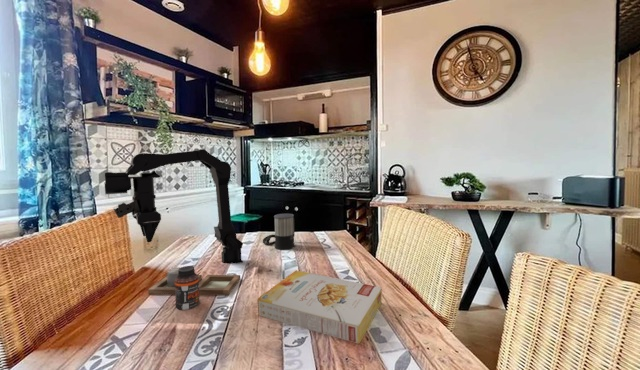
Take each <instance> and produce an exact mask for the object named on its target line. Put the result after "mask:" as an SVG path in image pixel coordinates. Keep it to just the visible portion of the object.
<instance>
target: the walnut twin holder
mask: <svg viewBox="0 0 640 370" xmlns="http://www.w3.org/2000/svg"><path fill="white" fill-rule="evenodd" d="M197 275H198V277H199V296H201V295H204V296H205V295H208V296H212V295H213V296H229V295H230V293H231V292H232V291H233V290H234V289H235V287H236V286H237V284H238V283H239V282H240V281H241V275H240V274H207V275H206V276H204V278H202V274H197ZM147 290H148V295H175V287H168V284H167V275H166V276H165V277H164V278H163V279H161V280H160V281H158V282H157V283H155V284H154V285H152V286H150V287H149V288H148V289H147Z"/></svg>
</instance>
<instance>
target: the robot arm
mask: <svg viewBox="0 0 640 370" xmlns="http://www.w3.org/2000/svg"><path fill="white" fill-rule="evenodd" d="M198 161H199V162H200V163H201V164H202V165H204V166H205V168H207V169H209V171H210V174H211V175H210V176H211V178H212V181H213V182H214V185H215V193H216V206H217V213H218V214H217V215H218V216H217V217H218V224H217V226H213V229H214V230H213V231H214V236H213V237H215V238H216V240H217V242H219V243H220V244H221V246H223V247H222V251H221V263H222V264H242V263H244V260H242V248H243V244H244V242H242V241H241V240H240V239H238V237H237V233H236V229H235V227H234V225H233V223H232V222H233V221H232V217H231V216H232V215H231V206H230V205H231V204H230V195H229V193H230V192H229V182H230V179H231V173H232V168H231V165H230V164H229V163H228V162H227V161H224V160H220V159H219V158H217V156H214V155H212V154H211V153H209V152H208V151H207V150H205V149H203V148H202V149H196V150H191V151H181V152H172V153H164V154H163V153H147V152H146V153H144V152H141V153H136V154H134V155H133V156H132V158H131V160H130V165H129V167H128V168H127V169H126V170H125V171H123V172H121V171H120V172H112V171H105V172H104V192H105V193H104V194H105V195H117V194H118V195H120V194H121V195H122V194H128V191H131V190H132V189H133V195H132V196H131V198H132V199H131V200H129V201H126V202H121V203H118V205H116V206H114V207H112V210H113V211H114V213H115V215H116V217H117V218H118V219H120V218H122V217H124V216H126V215H129V214H130V213H131V215H132V218H134V219H135V220H136V224H137V225H138V226H139V227H140V230H141V233H142V235H143V237H145V240H146V242H147V243H152V241H153V238H154V236H155V233H156V232H157V229H158V226H159V225H160V223H161V221H162V213H160V212H158V211H157V207H156V204H155V203H156V201H155V200H156V198H157V197H156V194H155V185H154V183H155V182H154V179H156V178H161V175H160V174H158V173H157V172H156V170H155V169H158V168H162V167H163V166H168V165H169V166H170V165H174V164H182V163H188V162H189V163H191V162H198ZM148 171H151V172H148ZM138 173H140V175H137V174H138ZM136 175H137V176H136ZM132 185H133V188H132Z"/></svg>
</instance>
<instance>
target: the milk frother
mask: <svg viewBox="0 0 640 370" xmlns="http://www.w3.org/2000/svg"><path fill="white" fill-rule="evenodd" d="M294 216H295V215H294V214H293V213H277V214H275V215H274V216H273V218H274V234H269V235H267V236H265V237H263V239H262V244H264V245H267V246H273V245H275V246H274V248H275V249H276V250H280V251H287V250H292V249H294V248H295V247H296V245H295V229H296V228H295V227H296V226H295V223H296V222H295V217H294ZM272 238H274V241H271V239H272Z"/></svg>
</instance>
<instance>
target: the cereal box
mask: <svg viewBox="0 0 640 370" xmlns="http://www.w3.org/2000/svg"><path fill="white" fill-rule="evenodd" d="M382 296H383V295H382V287H380V286H377V285H376V286H375V285H373V284H372V285H371V284H367V283H366V284H365V283H361V282H355V281H351V280H346V279H341V278H337V277H330V276H327V275H321V274H317V273H312V272H305V271H301V270H294V271H293V272H291V273H290V274H289V275H288V276H286V277H285V278H284V279H282V280H281V281H280V282H278V283H277V284H276V285H274V286H273V287H271V288H270V289H269V290H267V291H266V292H264V293H263V294H261V295H260V296H259V297H258V298H257V299H256V300H257V313H258V314H257V315H258V316H259V317H262V318H267V319H269V320H274V321H277V322H280V323H284V324H288V325H291V326H294V327H297V328H298V327H299V328H301V329H305V330H308V331H312V332H316V333H319V334H322V335H323V334H324V335H326V336H329V337H334V338H336V339H341V340H344V341H347V342H351V343H355V344H360V343H361V341H362V340H363V338H364V336H365V335H366V333H367V331H368V329H369V327H370V325H371V324H372V321H373V319H374V317H375V316H376V314H377V312H378V311H379V309H380V307H381V305H382Z"/></svg>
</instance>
